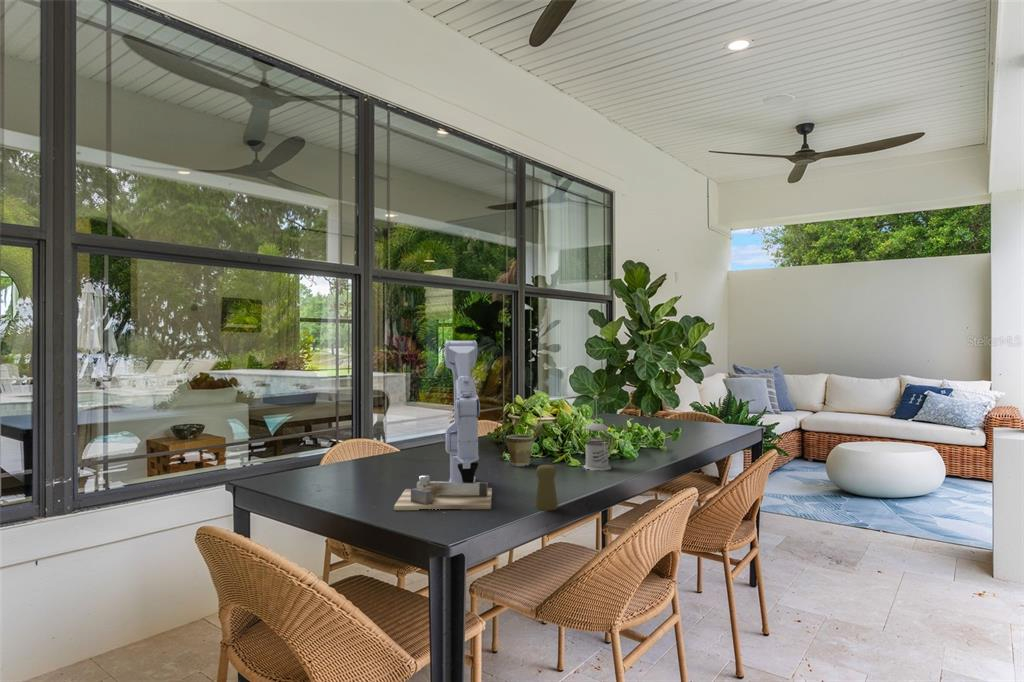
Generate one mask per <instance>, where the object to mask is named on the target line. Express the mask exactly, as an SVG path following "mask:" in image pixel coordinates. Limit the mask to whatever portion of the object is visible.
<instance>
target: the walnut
mask: <svg viewBox="0 0 1024 682" xmlns="http://www.w3.org/2000/svg"><path fill="white" fill-rule="evenodd" d="M425 489H427V490H432V491H433V499H434V498H435V497H436V495H437V491H436V489H435V488H434V487H433V486H428V487H426V488H425Z"/></svg>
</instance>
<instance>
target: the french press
mask: <svg viewBox="0 0 1024 682" xmlns="http://www.w3.org/2000/svg"><path fill="white" fill-rule="evenodd" d="M593 399H594V400H595V411H596V412H595V423H590V424H589V425H587V426H585V427H584V429H585V430H586V431H592V432H595V433H596V435H595V437H590V438H586V439H585V440H586V443H585V447H584V448H585V449H584V451H585V464H584V465H583V466H582V468H583V467H584V468H585V469H584V468H583V469H584V470H587V469H590V470H589V471H595V470H601V471H609V470H611V469H612V467H611V466H610V465H609V452H610V451H611V449H612V448H613V444H614V440H613V439H614V438H613V435H612V433H611V432H609V431H608V430H609V427H608V426H607V425H605V424H604V423H603V424H602V423H599V422H598V419H597V418H598V413H597V412H598V411H597V409H598V408H597V406H598V401H597V399H598V400H599V399H600V396H599V395H594V396H593ZM599 431H600V432H602V434H603V436H607V437H608V439H607V438H604V437H603V438H601V437H600V438H599V437H598V432H599ZM604 432H605V433H604ZM610 437H611V439H610ZM610 440H611V441H610ZM607 441H608V443H607ZM605 442H606V443H605ZM610 443H611V447H610ZM609 447H610V449H609Z"/></svg>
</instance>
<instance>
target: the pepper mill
mask: <svg viewBox="0 0 1024 682" xmlns="http://www.w3.org/2000/svg"><path fill="white" fill-rule="evenodd" d="M535 473H536V477H537V478H538V479H537V488H536V495H535V502H534V503H535V505H534V508H535V509H536V508H537V509H536V510H538V509H540V510H539V511H554V510H555V511H556V510H558V509H559V505H558V498H557V491H556V484H555V478H556V475H557V468H556V467H555V465H550V464H542V465H538V466H537V468H536V469H535Z"/></svg>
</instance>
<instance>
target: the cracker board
mask: <svg viewBox="0 0 1024 682" xmlns="http://www.w3.org/2000/svg"><path fill="white" fill-rule="evenodd" d="M411 489H412V488H405V489H404V491H403V492H402V493H401V495H400V496H399V497H398V498H397V501H396V502H395V504H394V505H393V510H394V511H420V510H419V509H429V510H428V511H440V509H461V510H491V509H492V500H493V499H492V497H493V496H492V495H493V487H488V494H487V496H479V495H436V497H435V498H434V499H433V503H431V504H427V505H425V504H421V503H417V502H412V501H411ZM491 499H492V500H491ZM430 509H432V510H430ZM433 509H435V510H433ZM437 509H439V510H437Z"/></svg>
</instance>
